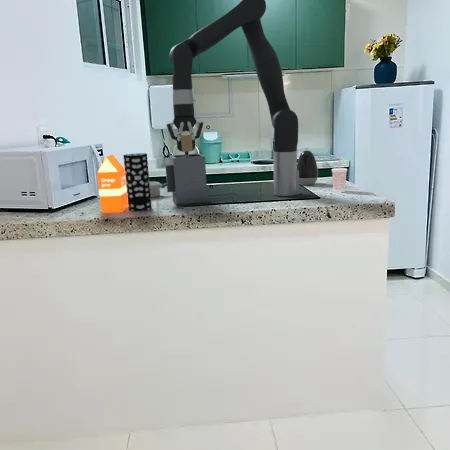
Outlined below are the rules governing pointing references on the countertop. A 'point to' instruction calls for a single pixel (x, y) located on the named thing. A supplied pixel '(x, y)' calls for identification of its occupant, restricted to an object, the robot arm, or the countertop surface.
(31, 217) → the countertop surface
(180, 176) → the tall grey box
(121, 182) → the orange juice
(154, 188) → the saucepan
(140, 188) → the spotted tube
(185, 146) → the plunger
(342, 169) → the beverage cup
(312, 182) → the dark grey egg shape
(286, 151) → the robot arm
